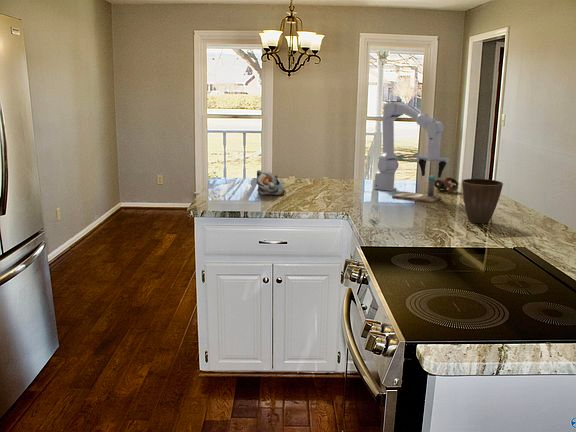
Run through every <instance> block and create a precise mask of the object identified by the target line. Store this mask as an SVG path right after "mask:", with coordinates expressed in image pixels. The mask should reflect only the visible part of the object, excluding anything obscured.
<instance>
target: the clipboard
mask: <svg viewBox="0 0 576 432" xmlns="http://www.w3.org/2000/svg"><path fill="white" fill-rule="evenodd" d="M427 194H428V193H427ZM427 194H425V193H419V192H418V193H417V192H408V191H400V192H398V193H396V194H394V195H392V199H397V200H406V201H413V202H422V203H429V204H433V203H434V202H437V201H438V200H440V199H441V198H442V196H441V195H435V194H434V196H428V195H427Z"/></svg>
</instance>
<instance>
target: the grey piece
mask: <svg viewBox="0 0 576 432" xmlns="http://www.w3.org/2000/svg"><path fill="white" fill-rule="evenodd" d="M278 177H279V176H278V175H277V174H275V175H274V174H273V173H272V172H270V171H266V170H265V171H261V170H259V169H258V170H257V171H256V184H257V186H258V187H257V190H256V191H257V193H258V194H259V195H260V196H263V195H273V196H275V195H277V196H283V195H284V194H285V193H286V192H287V191H286V189H285V188H284V186H283V184H282V181H280V180H279V179H278Z"/></svg>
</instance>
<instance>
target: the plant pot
mask: <svg viewBox="0 0 576 432" xmlns="http://www.w3.org/2000/svg"><path fill="white" fill-rule="evenodd" d="M503 185H504V183H503V182H502V181H500V180H495V179H494V180H493V179H487V178H466V179H465V178H464V179H462V180H461V186H462V197H463V203H464V208H465V209H464V210H465V213H466V217H467V219H468V222H469V221H470V223H471V222H473V223H472V224H475V223H487V224H489V223H488V222H490V221H491V219H492V217H493V215H494V212H495V210H496V209H497V206H498V202H499V200H500V196H501V194H502V189H503Z"/></svg>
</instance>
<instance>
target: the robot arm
mask: <svg viewBox="0 0 576 432" xmlns="http://www.w3.org/2000/svg"><path fill="white" fill-rule="evenodd" d="M403 115H407V116H408V117H410V118H412V119H413V120H415V121H416V124H417V125H418V126H420V127H422V128H423V129H424V130H426V132H427V150H426V155H417V156H416V160H417V162H418V165H419V167H420V170H421V176H422V177H424V176H425V175H426V165H427V161H428V162H438V174H437V178H441V176H442V174H443V171H444V169H445V167H446V165H447V164H448V163H449V161H450V157H442V156H441V157H440V154H441V153H440V152H441V144H442V143H441V141H442V133H443V132H444V131H445V124H444V123H443V122H442V121H441V120H439V121H437V120H436V118H433V117H430V116H429V114H428V113H426V112H425V113H419V111H417V110H415V109H414V108H412V107H411V106H410V105H409V104H408V103H405V102H404V101H398V102H397V101H389V102H387V103H386V104H385V105H384V107H383V115H382V121H381V122H382V154H381V155H379V157H378V162H377V168H378V171H376V172H375V175H374V187H373V189H374V190H379V191H389V192H392V191H395V190H396V189H397V187H395V173H396V171H397V170H398V169H399V160H398V156H397V155H396V153H395V144H394V143H395V142H394V141H395V139H394V138H395V133H394V131H395V130H394V128H395V127H394V125H395V124H394V122H395V121H396V119H398V118H399V117H401V116H403Z"/></svg>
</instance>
